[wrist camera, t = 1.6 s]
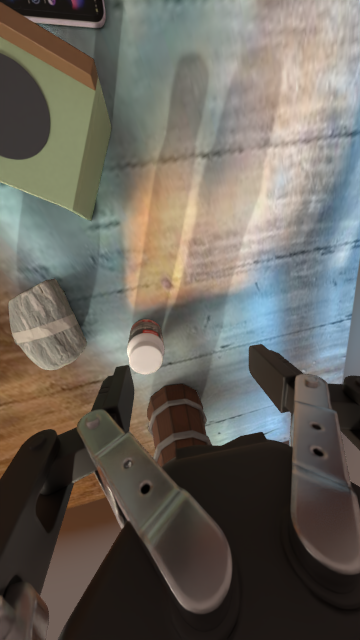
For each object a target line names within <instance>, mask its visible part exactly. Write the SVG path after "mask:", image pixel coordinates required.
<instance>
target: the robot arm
mask: <svg viewBox="0 0 360 640" xmlns="http://www.w3.org/2000/svg"><path fill="white" fill-rule="evenodd" d="M249 371H250V373H251V375H252V376H253V378H254V379H255V380H256V382H257V383H258V384H259V385H260V387H261V388H262V389H263V390H264V392H265V393H266V394H267V396H268V397H269V398H270V399H271V401H272V402H273V403H274V404H275V406H276V407H277V408H278V410H279V411H280V412H281V413H284V412H289V411H290V413H291V426H290V442H289V445H287V444H284V443H282V442H278V441H274V440H268V439H266V437H265V436H264V434H263V432H259V433H254V434H249V435H244V436H240V437H238V438H236V439H234V440H232V441H230V442H228V443H226V444H224V445H222V446H212V445H193V446H188V447H182V448H177V449H175V454H176V457H175V458H173V459H171V460H170V461H168V462H167V463H165V464H164V465H163V466H162V467H161V466H160V465H159V464H158V463H157V462H156V461H155V460H154V458H153V457H152V456H151V455H150V454H149V453H148V452H147V451H146V449H145V448H144V447H143V446H142V445H141V444H140V443H139V441H138V440H137V439H136V438H135V437H134V436H133V435H132V434H131V433H130V432H129V427H130V420H131V414H132V407H133V400H134V385H133V380H132V376H131V372H130V367H129V365H125V366H119V367H116V369H115V372H114V375H113V376H108V377H107V378H106V379H105V380H104V381H103V383H102V386H101V389H100V390H99V394H98V395H97V398H96V400H95V403H94V405H93V408H92V410H91V412H89V413H88V414H86V415H85V416H83V417H82V418H81V419H80V421H79V422H78V424H77V427H76V428H74V429H72V430H70V431H67V432H65V433H62V434H60V435H57V433H56V431H55V430H52V429H48V430H43V431H41V432H38V433H36V434H35V435H33V436H32V437H30V438H29V439H28V440H27V441H26V442H24V444H23V445H22V446H21V447H20V449H19V451H18V452H17V454H16V455H15V457H14V459H13V460H12V462H11V463H10V465H9V466H8V468H7V470H6V471H5V473H4V474H3V476H2V477H1V479H0V640H46V636H47V630H48V624H49V611H48V607H47V605H46V603H45V602H44V601H43V599H42V598H41V597H40V593H41V591H42V588H43V584H44V581H45V577H46V574H47V571H48V568H49V564H50V561H51V558H52V554H53V551H54V547H55V544H56V541H57V538H58V534H59V531H60V528H61V524H62V521H63V518H64V514H65V511H66V508H67V504H68V501H69V498H70V494H71V491H72V488H73V485H74V482H76V481H78V480H80V479H82V478H84V477H85V476H87V475H89V474H91V473H93V472H94V474H95V476H96V478H97V480H98V482H99V484H100V486H101V488H102V490H103V491H104V493H105V495H106V497H107V499H108V501H109V503H110V505H111V507H112V509H113V512H114V514H115V516H116V518H117V520H118V522H119V524H120V526H121V528H122V530H121V532H120V533H119V535H118V537H117V538H116V540H115V542H114V543H113V545H112V547H111V549H110V550H109V552H108V554H107V555H106V557H105V559H104V560H103V562H102V564H101V565H100V567H99V569H98V570H97V572H96V574H95V576H94V577H93V579H92V580H91V582H90V584H89V585H88V587H87V589H86V591H85V592H84V594H83V596H82V597H81V599H80V601H79V602H78V604H77V606H76V607H75V609H74V611H73V612H72V614H71V616H70V618H69V619H68V621H67V623H66V625H65V626H64V628H63V630H62V632H61V634H60V636H59V638H58V640H360V487H359V486H357V485H356V484H354V483H352V482H351V481H350V477H349V472H348V466H347V461H346V456H345V451H344V446H343V441H342V436H341V432H342V433H343V434H344V435H345V436H346V437H347V438H348V439H349V440H350V441H351V442H352V443H353V444H354V445H355V446H356V447H357V448H358V449H359V450H360V376H348V377H346V378H345V379H344V383H343V384H327V382H326V381H325V380H323V379H322V378H320V377H318V376H315V375H312V374H303V373H302V372H301V371H300V370H298V369H297V368H296V367H295V366H293V365H292V364H291V363H290V362H289V361H287V360H286V359H284V357H282V356H281V355H280V354H279V353H276V352H274V351H272V350H268V349H267V348H266V347H265V346H263V345H262V344H259V345H253V346H250V347H249Z"/></svg>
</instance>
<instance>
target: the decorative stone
mask: <svg viewBox="0 0 360 640" xmlns="http://www.w3.org/2000/svg"><path fill="white" fill-rule="evenodd" d="M64 292H65V291H63V290H62V289H61V287H60V286H59V284H58V282H57V280H56V279H55V278H54V279H50V280H46V281H44V282H42V283H40V284H38V285H36V286H34V287H33V288H31V289H29V290H27V291H25V292H23V293H22V294H20V295H18V296H17V297H15V298H14V299H12V300H10V301H9V306H8V308H9V315H10V318H9V319H10V325H11V331H12V336H13V338H14V341H15V343H16V345H17V344H18V345H19V346H20V347H21V348H22V350H23V351H24V352H25V353H26V355H27V356H28V357H29V358H30V359H31V360H32V361H33V362H34V363H35V364H36V365H38V366H39V367H41V368H43V369H45V370H56V369H60V368H61V367H63V366H65V365H67V364H70V363H72V362H73V361H75V360H76V359H77V358H78V357H79V355H80V354H81V353H82V352H83V350H84V349H85V347H86V344H87V342H86V339H85V337H84V335H83V332H82V330H81V328H80V326H79V324H78V322H77V320H76V318H75V315H74V313H73V312H72V310H71V308H70V306H69V303H68V300H67V298H66V296H65V295H66V294H64Z"/></svg>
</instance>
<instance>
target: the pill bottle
mask: <svg viewBox="0 0 360 640" xmlns="http://www.w3.org/2000/svg"><path fill="white" fill-rule="evenodd" d="M164 350H165V349H164V342H163V337H162V332H161V328H160V326H159V325H158V324H157V323H156V322H154V321H152V320H149V319H143V320H140V321H138V322H136V323H135V324H134V325H133V326H132V328H131V331H130V337H129V342H128V348H127V353H128V356H129V363H130V366H131V368H132V369H133V370H134V371H135V372H137V373H140V374H150V373H153V372H155V371H157V370H158V369H159V368H160V366H161V364H162V361H163V355H164Z"/></svg>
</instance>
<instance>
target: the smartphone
mask: <svg viewBox="0 0 360 640" xmlns="http://www.w3.org/2000/svg"><path fill="white" fill-rule="evenodd" d="M0 2H2V3H3V4H5V5H6V6H8V7H10V8H11V9H13V10H15V11H16V12H18V13H19V14H21V15H23V16H24V17H26V18H28V19H29V20H31V21H32V22H34V23H44V24H56V25H67V26H79V27H91V28H101V27H102V26H103V25H104V23H105V20H106V13H105V6H104V0H0Z"/></svg>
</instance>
